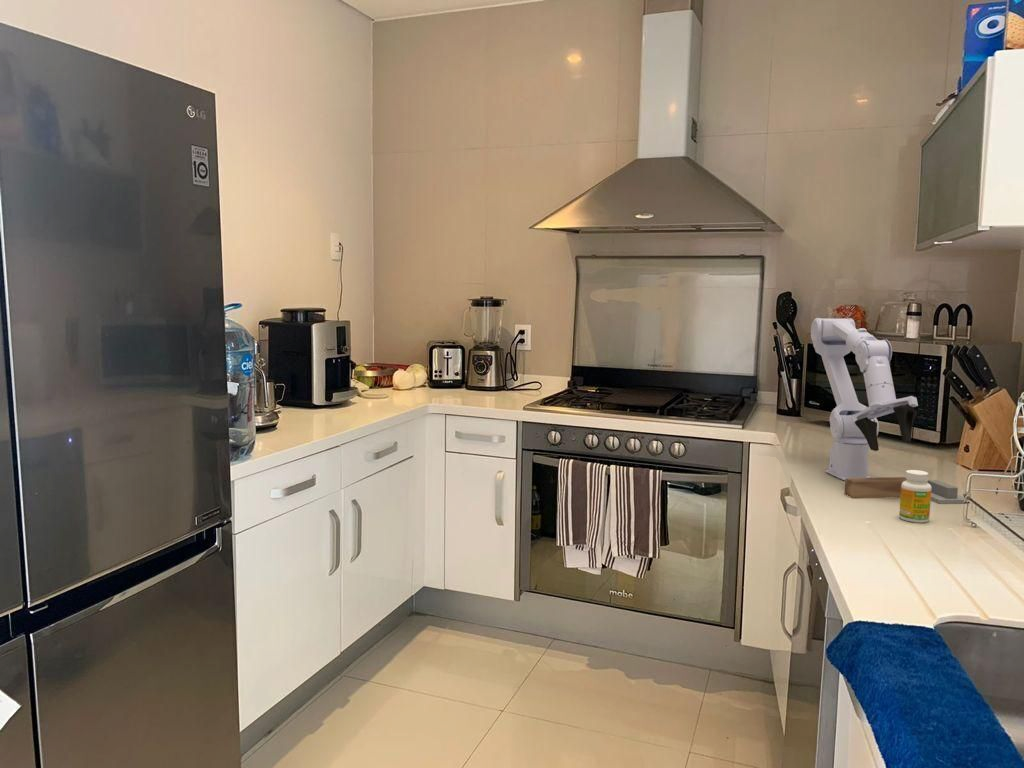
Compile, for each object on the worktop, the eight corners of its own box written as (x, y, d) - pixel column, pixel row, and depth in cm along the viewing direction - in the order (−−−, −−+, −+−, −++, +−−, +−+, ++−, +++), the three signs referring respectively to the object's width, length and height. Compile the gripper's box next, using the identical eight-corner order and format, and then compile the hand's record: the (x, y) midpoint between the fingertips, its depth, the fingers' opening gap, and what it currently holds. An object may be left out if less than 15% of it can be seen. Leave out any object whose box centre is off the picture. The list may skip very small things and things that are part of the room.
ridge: (914, 493, 176) (915, 479, 176) (943, 492, 177) (944, 478, 177) (939, 503, 168) (940, 489, 167) (969, 503, 168) (970, 488, 168)
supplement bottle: (913, 524, 153) (916, 475, 152) (892, 516, 158) (896, 469, 157) (935, 522, 154) (938, 474, 153) (914, 514, 159) (918, 468, 158)
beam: (844, 495, 175) (845, 478, 175) (903, 494, 176) (904, 477, 176) (852, 499, 172) (853, 481, 171) (912, 498, 173) (913, 480, 173)
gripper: (840, 394, 179) (850, 450, 174) (899, 373, 168) (911, 432, 163) (859, 401, 183) (868, 456, 178) (918, 381, 172) (930, 439, 166)
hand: (890, 445), depth 170 cm, fingers open, 7 cm apart
